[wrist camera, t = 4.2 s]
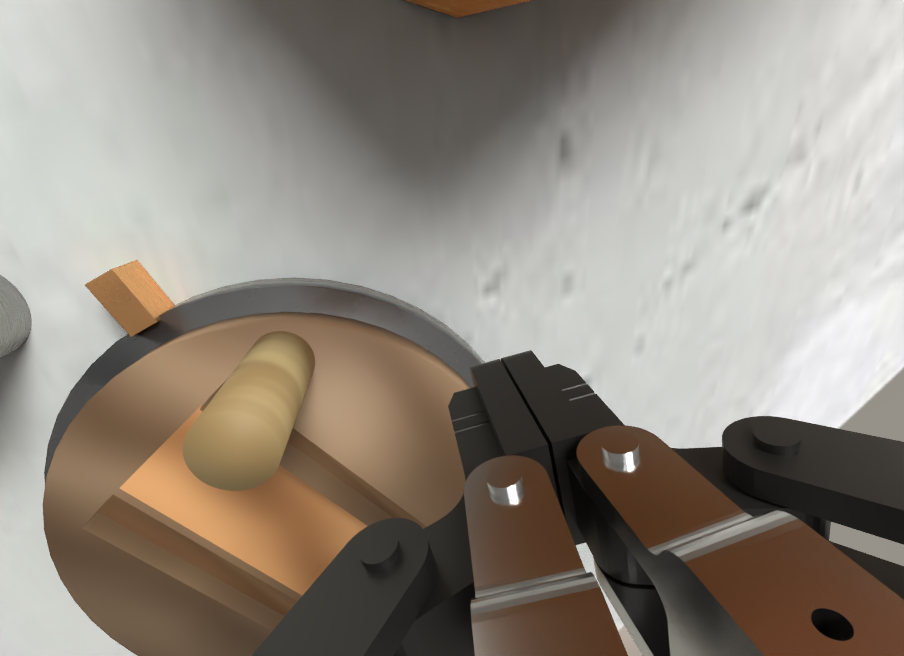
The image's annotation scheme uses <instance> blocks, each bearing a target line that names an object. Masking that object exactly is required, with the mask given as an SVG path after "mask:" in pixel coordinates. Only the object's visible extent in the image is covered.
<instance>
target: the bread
mask: <svg viewBox="0 0 904 656" xmlns="http://www.w3.org/2000/svg"><path fill="white" fill-rule="evenodd" d="M405 1H408V2H411V3H414V4H417V5H420V6H423V7H426V8H429V9H432V10H435V11H438V12H441V13H444V14H447V15H450V16H453V17H456V18H459V17H463V16H467V15H472V14H476V13H480V12H485V11H489V10H493V9H497V8H502V7H506V6H510V5H515V4H519V3H523V2H528V1H532V0H405Z"/></svg>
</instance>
